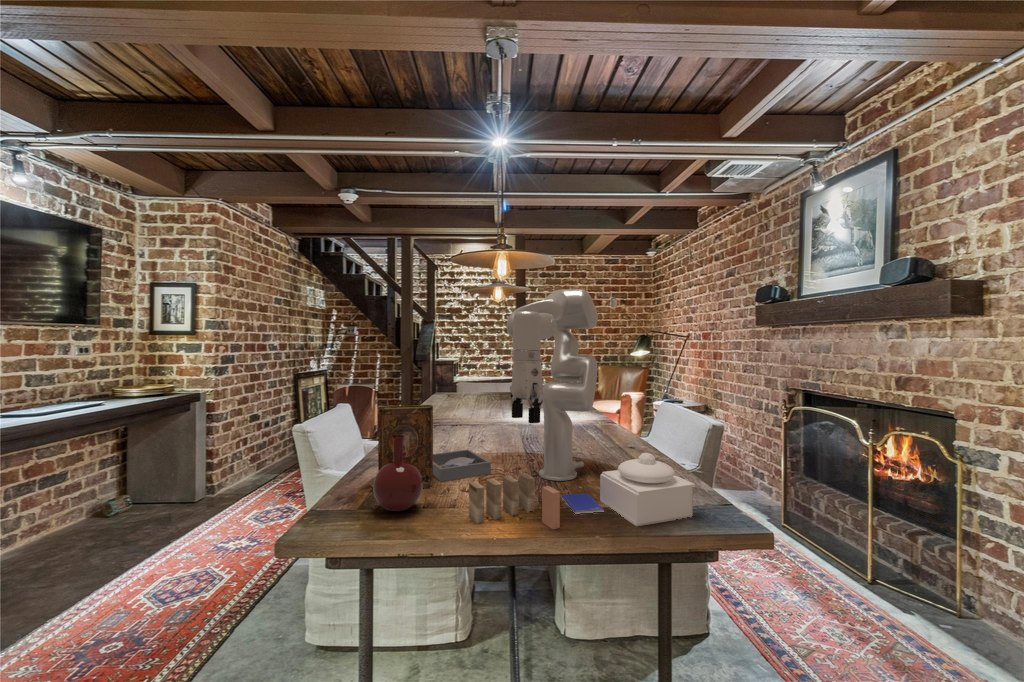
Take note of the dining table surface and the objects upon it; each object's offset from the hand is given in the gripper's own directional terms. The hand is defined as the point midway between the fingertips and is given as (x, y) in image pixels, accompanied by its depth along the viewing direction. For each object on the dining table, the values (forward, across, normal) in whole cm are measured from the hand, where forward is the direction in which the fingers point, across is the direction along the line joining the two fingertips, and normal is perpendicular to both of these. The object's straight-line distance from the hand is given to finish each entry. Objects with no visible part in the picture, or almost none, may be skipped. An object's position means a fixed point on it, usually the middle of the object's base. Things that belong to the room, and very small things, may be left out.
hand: (525, 420), depth 125 cm
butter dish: (+24, -13, -31) cm, 41 cm away
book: (+24, +33, +24) cm, 48 cm away
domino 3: (+25, +1, +4) cm, 25 cm away
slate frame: (+23, +43, +4) cm, 49 cm away
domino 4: (+24, +1, -2) cm, 24 cm away
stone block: (+24, +43, +4) cm, 49 cm away
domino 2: (+25, +1, +8) cm, 26 cm away
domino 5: (+25, -11, -2) cm, 27 cm away
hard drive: (+25, -3, -17) cm, 30 cm away
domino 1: (+25, +1, +14) cm, 28 cm away
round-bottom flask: (+25, +16, +30) cm, 42 cm away
